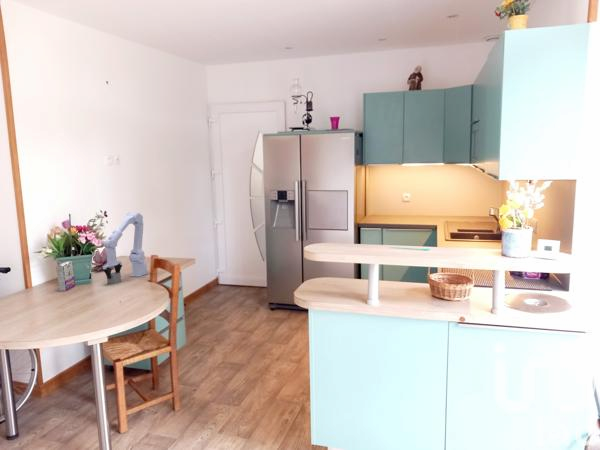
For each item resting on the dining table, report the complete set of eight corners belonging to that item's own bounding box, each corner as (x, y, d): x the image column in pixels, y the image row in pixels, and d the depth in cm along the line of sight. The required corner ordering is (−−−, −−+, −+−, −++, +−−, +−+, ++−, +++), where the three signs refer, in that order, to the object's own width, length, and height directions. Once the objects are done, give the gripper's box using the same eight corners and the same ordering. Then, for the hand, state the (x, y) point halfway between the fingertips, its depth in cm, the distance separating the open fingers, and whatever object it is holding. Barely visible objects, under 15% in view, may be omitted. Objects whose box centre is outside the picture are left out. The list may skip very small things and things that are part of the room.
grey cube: (114, 280, 298) (113, 272, 298) (121, 281, 296) (120, 272, 295) (107, 283, 293) (106, 274, 292) (114, 284, 291) (113, 275, 290)
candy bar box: (67, 286, 289) (65, 261, 286) (75, 285, 289) (73, 261, 286) (58, 291, 278) (55, 265, 275) (66, 291, 278) (63, 265, 275)
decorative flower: (123, 266, 338) (122, 247, 335) (104, 274, 317) (102, 253, 315) (100, 265, 343) (98, 246, 341) (79, 272, 323) (77, 252, 321)
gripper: (107, 260, 284) (109, 280, 286) (124, 255, 297) (126, 274, 300) (99, 259, 287) (101, 279, 289) (116, 254, 300) (117, 274, 302)
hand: (113, 277), depth 294 cm, fingers open, 7 cm apart
